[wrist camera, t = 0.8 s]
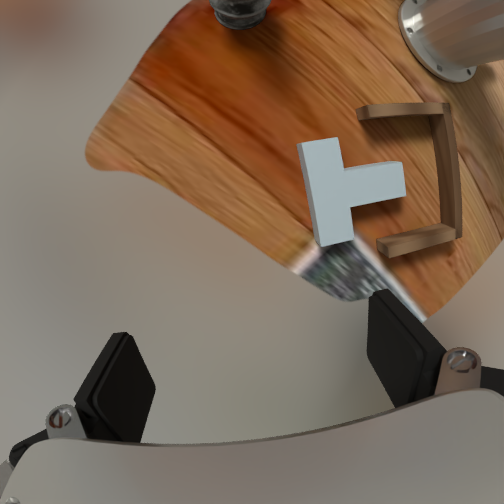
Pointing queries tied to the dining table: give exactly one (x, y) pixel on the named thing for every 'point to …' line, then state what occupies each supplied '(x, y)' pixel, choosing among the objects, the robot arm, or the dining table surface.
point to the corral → (446, 177)
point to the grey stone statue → (240, 12)
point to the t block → (343, 188)
